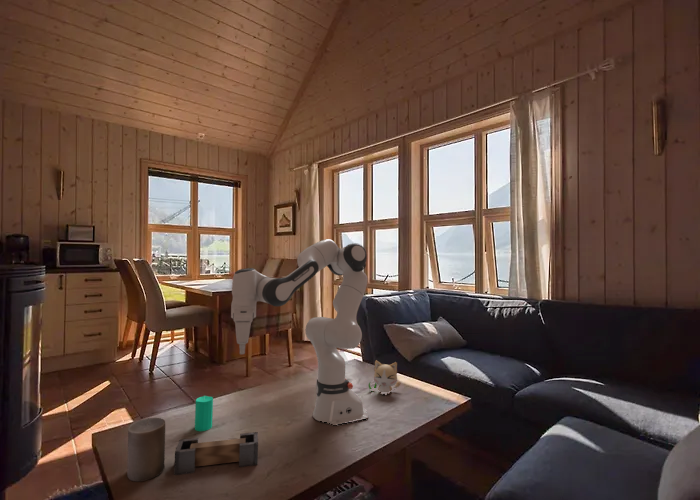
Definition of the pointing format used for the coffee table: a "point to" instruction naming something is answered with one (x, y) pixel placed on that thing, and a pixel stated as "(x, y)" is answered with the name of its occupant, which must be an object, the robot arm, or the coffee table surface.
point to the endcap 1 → (185, 457)
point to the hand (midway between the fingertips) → (242, 350)
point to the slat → (217, 451)
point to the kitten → (385, 376)
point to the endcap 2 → (249, 449)
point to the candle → (203, 413)
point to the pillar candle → (146, 449)
